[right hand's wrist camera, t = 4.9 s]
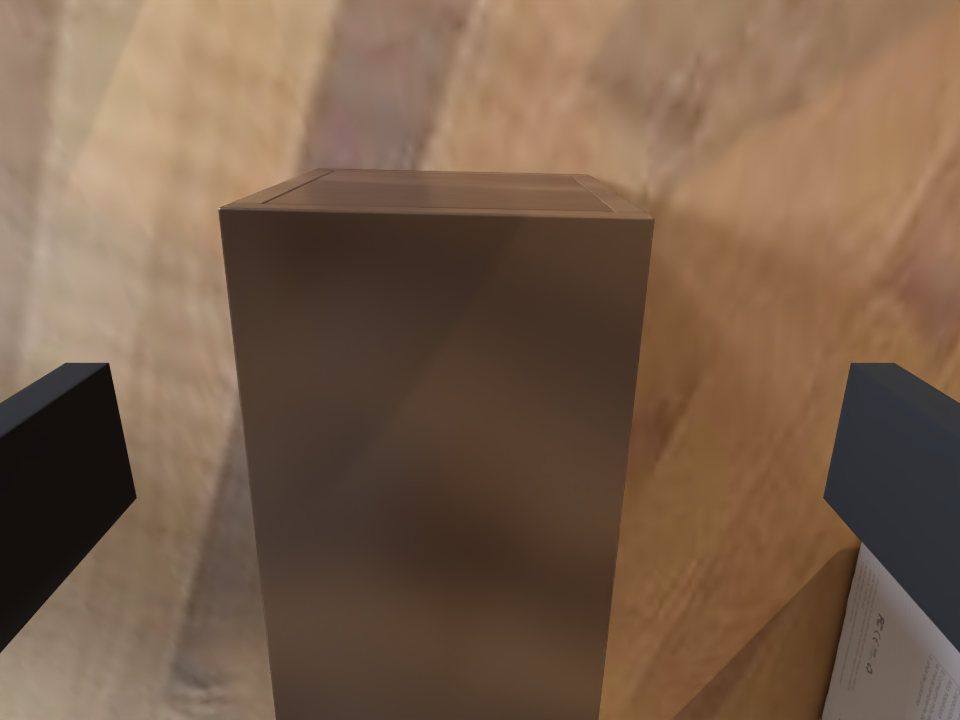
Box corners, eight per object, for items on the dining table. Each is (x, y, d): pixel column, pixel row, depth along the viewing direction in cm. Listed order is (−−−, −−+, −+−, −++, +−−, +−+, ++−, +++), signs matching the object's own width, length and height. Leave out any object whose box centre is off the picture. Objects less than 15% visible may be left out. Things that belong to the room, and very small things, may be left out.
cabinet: (556, 601, 35) (588, 810, 25) (343, 597, 35) (284, 804, 25) (589, 174, 28) (655, 217, 17) (316, 168, 28) (216, 207, 17)
